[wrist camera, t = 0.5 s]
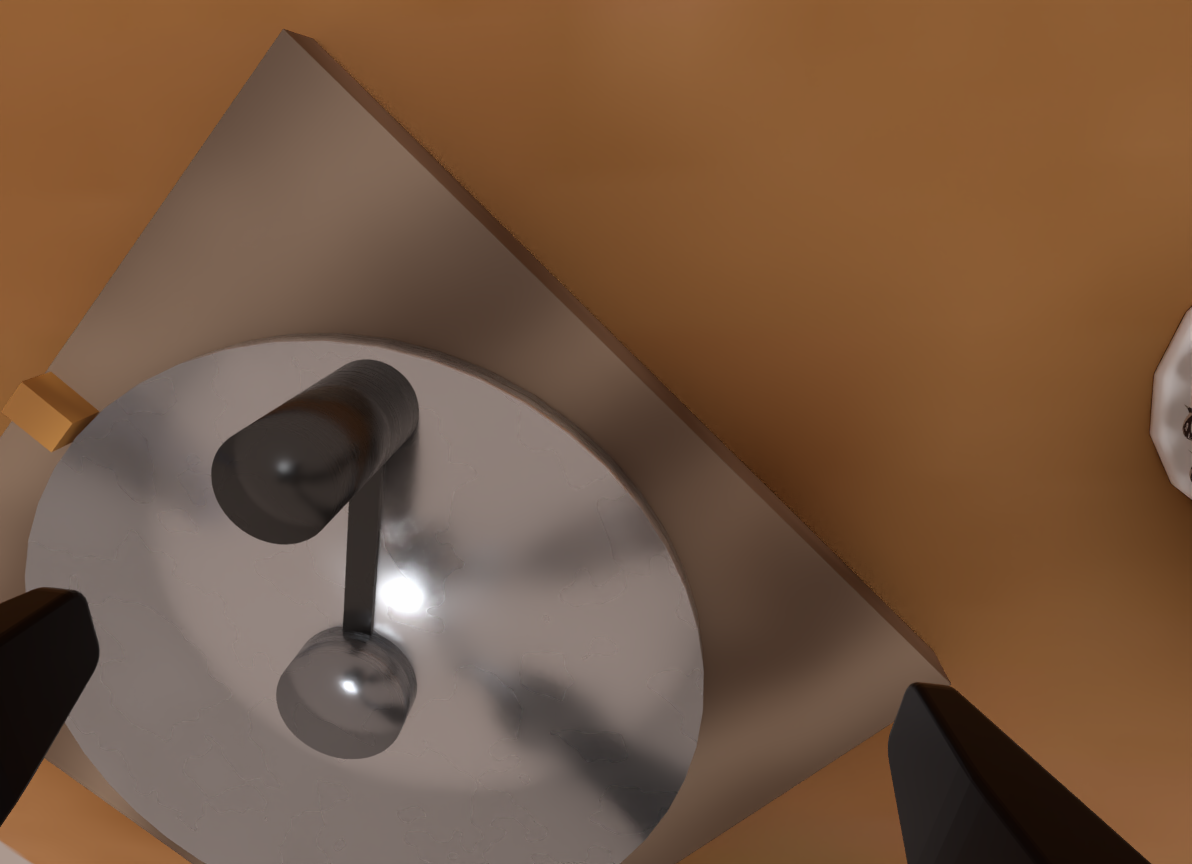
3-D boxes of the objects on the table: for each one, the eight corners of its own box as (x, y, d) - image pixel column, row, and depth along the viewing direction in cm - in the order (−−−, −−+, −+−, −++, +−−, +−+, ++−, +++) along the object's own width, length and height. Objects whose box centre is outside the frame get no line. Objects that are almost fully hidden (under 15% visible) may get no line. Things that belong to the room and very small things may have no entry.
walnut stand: (933, 651, 23) (964, 708, 20) (434, 987, 30) (414, 1057, 28) (312, 38, 18) (260, 21, 16) (-90, 605, 26) (-166, 649, 23)
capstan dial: (635, 949, 26) (625, 1168, 20) (80, 833, 27) (-78, 1014, 21) (777, 409, 19) (821, 516, 13) (16, 270, 20) (-249, 316, 14)
